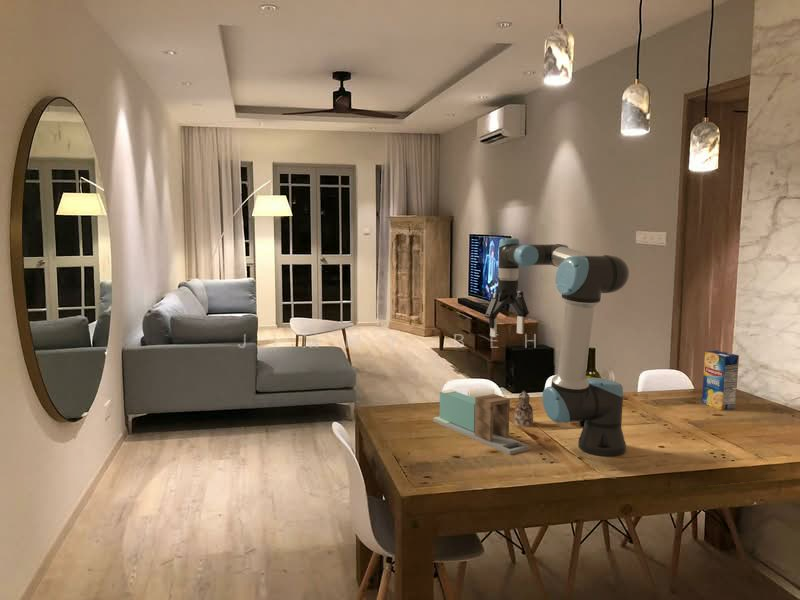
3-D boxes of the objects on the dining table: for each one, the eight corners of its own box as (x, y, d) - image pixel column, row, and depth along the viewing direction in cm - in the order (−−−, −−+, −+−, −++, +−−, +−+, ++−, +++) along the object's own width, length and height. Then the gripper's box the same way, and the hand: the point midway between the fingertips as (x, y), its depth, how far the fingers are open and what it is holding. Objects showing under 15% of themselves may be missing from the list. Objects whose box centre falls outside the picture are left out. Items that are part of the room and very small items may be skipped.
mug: (494, 411, 263) (494, 391, 262) (468, 410, 263) (469, 391, 262) (490, 402, 275) (491, 384, 274) (466, 402, 275) (466, 383, 274)
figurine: (512, 425, 245) (513, 393, 243) (514, 420, 251) (515, 389, 250) (531, 427, 243) (532, 395, 241) (533, 421, 249) (534, 390, 248)
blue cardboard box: (722, 410, 266) (725, 356, 264) (701, 403, 277) (704, 351, 274) (735, 408, 269) (739, 355, 266) (714, 401, 279) (718, 350, 276)
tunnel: (508, 437, 227) (509, 398, 225) (489, 442, 222) (490, 402, 221) (493, 431, 234) (494, 393, 232) (474, 435, 229) (475, 397, 227)
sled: (484, 429, 235) (485, 401, 233) (473, 431, 232) (474, 403, 231) (450, 415, 251) (450, 389, 250) (439, 417, 249) (440, 391, 247)
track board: (529, 449, 219) (530, 445, 219) (509, 454, 214) (509, 450, 214) (451, 417, 254) (451, 414, 254) (432, 421, 249) (432, 417, 249)
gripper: (525, 277, 260) (523, 330, 263) (476, 280, 247) (475, 336, 249) (539, 278, 254) (537, 333, 257) (489, 281, 240) (488, 339, 243)
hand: (506, 335), depth 253 cm, fingers open, 13 cm apart
